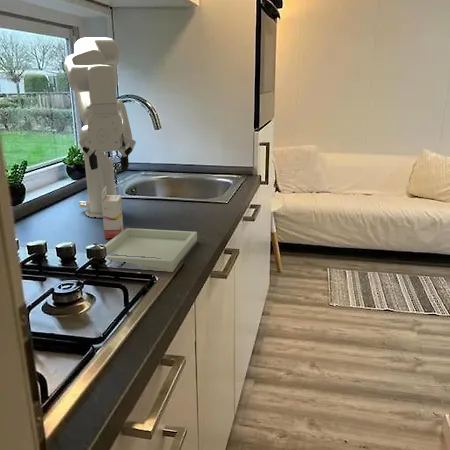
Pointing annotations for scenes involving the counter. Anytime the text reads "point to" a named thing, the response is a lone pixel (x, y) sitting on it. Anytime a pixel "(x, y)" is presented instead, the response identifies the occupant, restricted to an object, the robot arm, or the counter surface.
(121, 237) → the sage tray
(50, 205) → the counter surface
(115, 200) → the ink cartridge box
